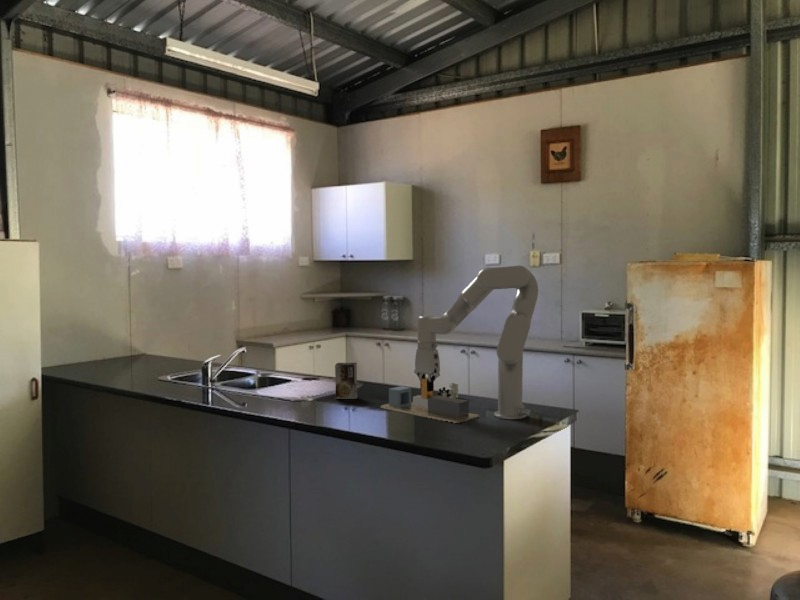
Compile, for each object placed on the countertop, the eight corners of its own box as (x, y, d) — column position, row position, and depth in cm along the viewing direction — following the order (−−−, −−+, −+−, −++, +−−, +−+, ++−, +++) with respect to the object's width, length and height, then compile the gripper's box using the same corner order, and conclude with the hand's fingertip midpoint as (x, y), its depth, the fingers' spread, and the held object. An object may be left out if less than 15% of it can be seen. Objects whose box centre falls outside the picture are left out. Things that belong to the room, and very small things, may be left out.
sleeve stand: (478, 417, 254) (478, 399, 253) (456, 423, 243) (456, 405, 243) (403, 402, 282) (403, 386, 281) (380, 407, 272) (380, 391, 271)
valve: (449, 396, 294) (437, 401, 284) (449, 382, 294) (436, 386, 284) (462, 398, 291) (450, 403, 281) (462, 383, 291) (450, 388, 280)
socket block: (411, 403, 274) (411, 387, 274) (398, 407, 269) (398, 390, 268) (401, 402, 278) (401, 386, 278) (389, 405, 272) (388, 388, 272)
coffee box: (357, 397, 294) (357, 362, 293) (355, 400, 287) (354, 364, 286) (338, 397, 294) (337, 362, 294) (335, 400, 288) (334, 364, 287)
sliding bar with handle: (463, 412, 253) (462, 382, 252) (456, 414, 250) (456, 384, 249) (419, 404, 268) (419, 376, 268) (412, 406, 265) (412, 377, 265)
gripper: (448, 346, 259) (448, 391, 260) (417, 343, 270) (418, 386, 271) (436, 348, 253) (436, 394, 254) (405, 345, 264) (406, 389, 265)
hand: (427, 390), depth 262 cm, fingers closed on sliding bar with handle, 3 cm apart
